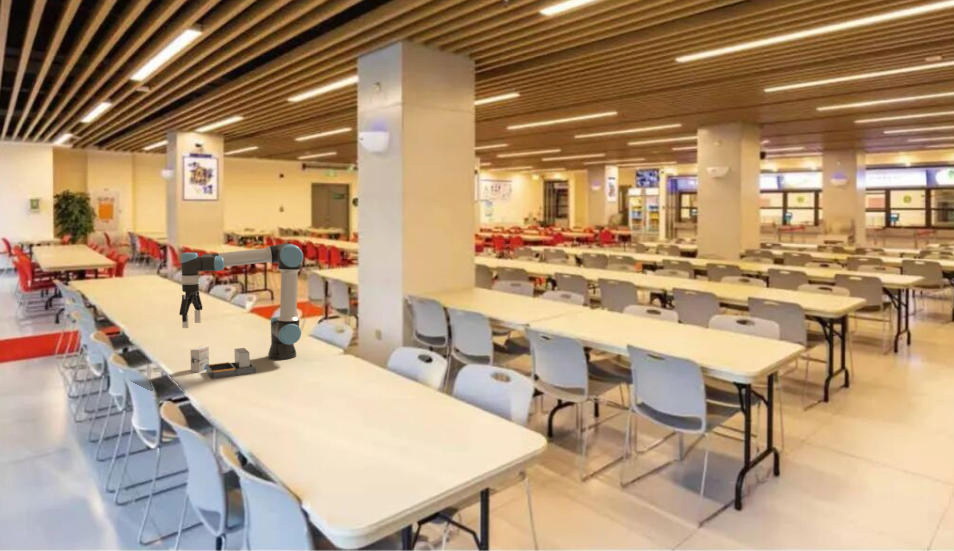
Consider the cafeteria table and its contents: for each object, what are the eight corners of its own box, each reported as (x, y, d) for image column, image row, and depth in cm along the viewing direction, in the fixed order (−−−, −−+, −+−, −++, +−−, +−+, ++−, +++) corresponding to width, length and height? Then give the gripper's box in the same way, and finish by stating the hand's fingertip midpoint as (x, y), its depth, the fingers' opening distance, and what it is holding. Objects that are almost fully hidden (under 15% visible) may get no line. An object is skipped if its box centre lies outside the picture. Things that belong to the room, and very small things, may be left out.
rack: (249, 366, 319) (248, 346, 318) (255, 373, 307) (255, 351, 306) (206, 371, 308) (205, 350, 306) (211, 379, 295) (210, 356, 294)
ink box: (201, 367, 316) (200, 345, 315) (209, 368, 315) (209, 346, 314) (190, 371, 307) (189, 349, 306) (199, 372, 306) (198, 350, 305)
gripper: (193, 280, 312) (195, 320, 315) (170, 286, 288) (172, 330, 290) (208, 280, 313) (209, 320, 315) (186, 286, 288) (188, 330, 290)
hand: (191, 325), depth 302 cm, fingers open, 13 cm apart
